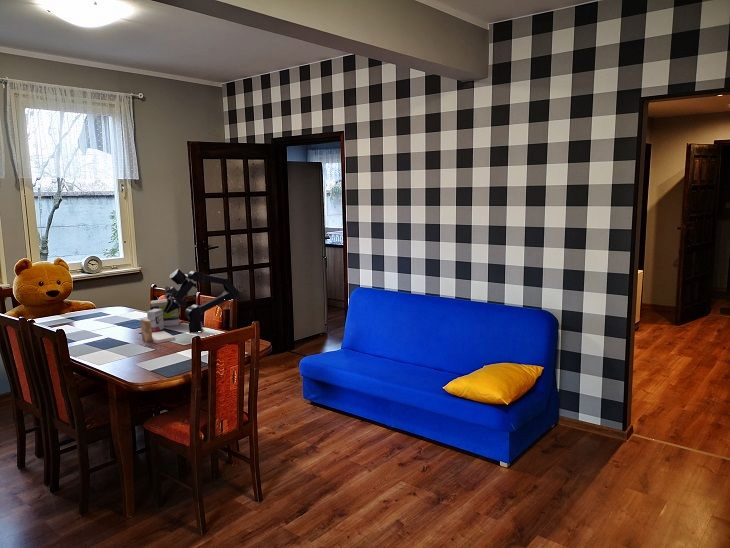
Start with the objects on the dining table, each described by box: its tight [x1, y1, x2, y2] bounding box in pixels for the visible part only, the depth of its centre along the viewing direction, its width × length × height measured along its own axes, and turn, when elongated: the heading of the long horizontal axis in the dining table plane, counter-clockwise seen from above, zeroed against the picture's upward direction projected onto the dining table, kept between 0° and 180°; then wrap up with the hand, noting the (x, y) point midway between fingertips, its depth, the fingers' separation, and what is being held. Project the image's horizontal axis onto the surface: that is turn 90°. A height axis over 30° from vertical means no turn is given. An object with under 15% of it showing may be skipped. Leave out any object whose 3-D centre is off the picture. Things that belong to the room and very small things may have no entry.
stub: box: [140, 317, 153, 343], centre depth 292 cm, size 3×7×11 cm, turn 39°
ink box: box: [146, 309, 165, 333], centre depth 314 cm, size 9×5×12 cm, turn 168°
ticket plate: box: [151, 330, 176, 344], centre depth 297 cm, size 10×17×2 cm, turn 39°
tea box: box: [149, 299, 180, 327], centre depth 325 cm, size 15×10×15 cm, turn 108°
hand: (165, 312), depth 297 cm, fingers open, 3 cm apart
